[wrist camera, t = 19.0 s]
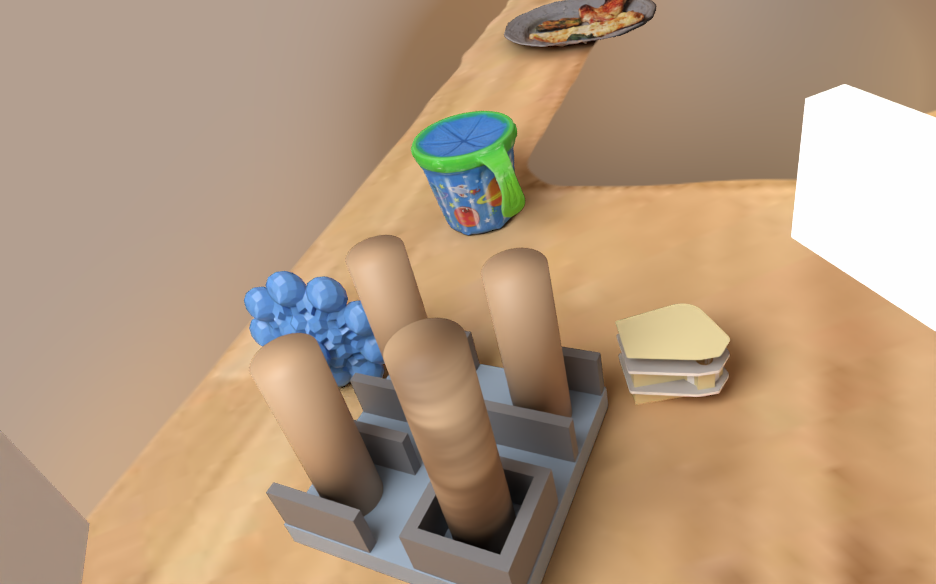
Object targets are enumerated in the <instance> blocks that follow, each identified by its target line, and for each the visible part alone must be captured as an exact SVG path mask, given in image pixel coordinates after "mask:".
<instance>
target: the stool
mask: <svg viewBox="0 0 936 584" xmlns="http://www.w3.org/2000/svg"><path fill="white" fill-rule="evenodd" d="M345 262H346V265H347V267H348V270H349V273H350V275H351V278H352V280H353V283H354V285H355V288H356V291H357V293H358V296H359V298H360V301H361V303H362V306H363V308H364V311H365V314H366V316H367V319H368V321H369V324H370V326H371V329H372V332H373V334H374V337H375V339H376V342H377V344H378V347H379V350H380V352H381V355H382V357H383V353H384V349H385V346H386V344H387V342H388V341H389V339H390V338H391V337H392V336H393V335H394V334H395V333H396V332H397V331H399V330H400V329H402V328H403V327H405V326H407V325H409V324H411V323H413V322H416V321H419V320H423V319H428V318H427V315H426V312H425V308H424V305H423V302H422V299H421V296H420V293H419V290H418V286H417V283H416V280H415V277H414V274H413V271H412V268H411V264H410V261H409V258H408V255H407V252H406V249H405V246H404V243H403V241H402V240H401V239H400V238H398V237H396V236H392V235H379V236H374V237H371V238H368V239H365V240H363V241H361V242H359V243H358V244H356V245H355V246H354V247H352V248H351V249H350V250H349V252H348V253H347V255H346V258H345ZM481 276H482V281H483V285H484V289H485V293H486V297H487V301H488V305H489V309H490V314H491V318H492V322H493V326H494V330H495V334H496V338H497V343H498V347H499V351H500V355H501V359H502V363H503V367H504V368H500V367H494V366H489V365H483V364H479V360H478V356H477V353H476V349H475V345H474V342H473V338H472V334H471V332H468V331H465V333H466V336H467V340H468V344H469V347H470V351H471V354H472V358H473V362H474V365H475V369H476V373H477V376H478V380H479V383H480V387H481V391H482V394H483V398H484V402H485V405H486V409H487V413H488V416H489V420H490V423H491V427H492V431H493V434H494V438H495V442H496V445H497V449H498V452H499V456H500V460H501V463H502V467H503V471H504V474H505V478H506V482H507V485H508V489H509V492H510V496H511V500H512V503H513V507H514V511H515V514H516V519H515V522H514V524H513V526H512V529H511V531H510V533H509V535H508V538H507V540H506V542H505V545H504V547H503V549H502V552H501V554H500V555H499V554H496V553H493V552H490V551H487V550H484V549H480V548H477V547H474V546H471V545H468V544H465V543H462V542H459V541H455V540H453V538H452V535H451V533H450V530H449V527H448V525H447V522H446V520H445V517H444V515H443V512H442V509H441V507H440V504H439V502H438V499H437V497H436V494H435V491H434V489H433V486H432V484H431V481H430V478H429V476H428V473H427V471H426V468H425V466H424V463H423V460H422V458H421V455H420V453H419V450H418V448H417V445H416V442H415V440H414V437H413V435H412V432H411V430H410V427H409V424H408V422H407V419H406V417H405V414H404V411H403V409H402V406H401V404H400V401H399V399H398V396H397V393H396V391H395V388H394V386H393V383H392V381H391V378H390V375H388V377H387V378H386V379H383V378H379V377H374V376H369V375H364V374H360V373H355V374H354V375H353V377H352V378H351V379H350V382H351V384H352V386H353V389H354V391H355V393H356V395H357V398H358V400H359V402H360V404H361V407H362V409H363V412H362V414H361V415H360V417H359V418H358V420H357V421H356V420H353V418H352V416H351V413H350V411H349V409H348V407H347V405H346V403H345V400H344V398H343V396H342V394H341V392H340V390H339V387H338V385H337V383H336V381H335V379H334V377H333V374H332V372H331V370H330V368H329V366H328V364H327V361H326V359H325V357H324V355H323V353H322V351H321V348H320V346H319V344H318V342H317V340H316V339H315V338H314V337H313V336H311V335H309V334H305V333H292V334H287V335H283V336H280V337H278V338H276V339H274V340H272V341H270V342H268V343H267V344H266V345H264V346H263V347H262V348H261V349H260V350H259V351H258V352H257V353H256V354H255V355H254V357H253V358H252V360H251V363H250V367H249V370H250V374H251V376H252V378H253V380H254V381H255V383H256V385H257V387H258V388H259V390H260V392H261V394H262V395H263V397H264V399H265V401H266V402H267V404H268V406H269V408H270V410H271V411H272V413H273V415H274V417H275V418H276V420H277V422H278V424H279V425H280V427H281V429H282V431H283V432H284V434H285V436H286V438H287V440H288V441H289V443H290V445H291V447H292V448H293V450H294V452H295V454H296V455H297V457H298V459H299V461H300V463H301V464H302V466H303V468H304V470H305V471H306V473H307V475H308V477H309V478H310V480H311V482H312V485H311V487H310V488H309V490H308V491H307V493H305V492H302V491H299V490H296V489H293V488H290V487H287V486H284V485H280V484H277V483H273V484H272V485H271V487H270V488H269V489H268V491H267V492H266V493H267V495H268V496H269V498H270V500H271V501H272V503H273V504H274V506H275V507H276V509H277V510H278V512H279V514H280V515H281V517H282V518H283V520H284V521H285V524H284V525H285V527H286V528H287V530H288V532H289V533H290V535H291V536H292V538H293V539H294V541H296V542H298V543H301V544H304V545H307V546H309V547H312V548H315V549H317V550H320V551H323V552H326V553H328V554H331V555H334V556H337V557H339V558H342V559H345V560H348V561H350V562H353V563H356V564H359V565H361V566H364V567H367V568H370V569H372V570H375V571H378V572H381V573H383V574H386V575H389V576H392V577H394V578H397V579H400V580H402V581H405V582H408V583H411V584H541V582H542V579H543V577H544V574H545V571H546V569H547V566H548V563H549V561H550V558H551V556H552V553H553V550H554V548H555V545H556V542H557V540H558V537H559V534H560V532H561V529H562V527H563V524H564V521H565V519H566V516H567V513H568V511H569V508H570V505H571V503H572V500H573V498H574V495H575V492H576V490H577V487H578V484H579V482H580V479H581V476H582V474H583V471H584V469H585V466H586V463H587V461H588V458H589V455H590V453H591V450H592V447H593V445H594V442H595V440H596V437H597V434H598V432H599V429H600V426H601V424H602V421H603V418H604V416H605V413H606V411H607V408H608V399H607V390H606V387H604V380H603V372H602V363H601V355H600V353H598V352H592V351H586V350H580V349H573V348H567V347H562V346H561V340H560V334H559V328H558V321H557V315H556V309H555V303H554V297H553V291H552V285H551V279H550V273H549V267H548V261H547V259H546V257H545V256H544V255H543V254H542V253H541V252H539V251H536V250H534V249H529V248H514V249H509V250H505V251H502V252H500V253H497V254H496V255H494V256H492V257H491V258H490V259H488V260H487V261H486V262H485V264H484V265H483V267H482V270H481ZM383 360H384V358H383Z"/></svg>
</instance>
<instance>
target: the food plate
mask: <svg viewBox="0 0 936 584" xmlns="http://www.w3.org/2000/svg"><path fill="white" fill-rule="evenodd" d="M655 11H656V4H655V3H654V2H653V1H651V0H565V1H564V0H563V1H558V2H554V3H551V4H547V5H544V6H541V7H539V8H535V9H533V10H531V11H529V12H527V13H525V14H522V15H519V16H518V17H516V18H515V19H513V20H512V21H511V22H510V23H508V25H507V26H506V30H505V33H504V37H505V38H507V39H508V40H510V41H512V42H514V43H517V44H523V45H529V46H540V47H543V46H544V47H545V46H546V47H547V46H554V45H557V46H564V45H568V44H577V43H580V42H583V43H584V44H587V41H591V40H599V39H600V40H601V39H604V38H610V37H616V36H621V35H623V34H625V33H628V32H629V31H631V30H634V29H636V28H638V27H640V26H642V25H644V24H646V23H647V21H649V20H651V19H652V18H653V16H654V14H655Z"/></svg>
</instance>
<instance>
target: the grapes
mask: <svg viewBox="0 0 936 584" xmlns="http://www.w3.org/2000/svg"><path fill="white" fill-rule="evenodd" d="M347 300H348V297H347V294H346V290H345V289H344V288H343V287H342V285H341V284H340V283H339V282H337V281H336V280H334V279H332V278H329V277H325V276H324V277H316V278H314V279H312V280H311V281H310V282H308V283H307V286H306V284H305V283H304V282H303V280H302V279H301V278H300V277H298V276H297V275H295V274H294V273H291V272H287V271H281V272H275V273H274V274H272V275H271V276H269V277H268V279H267V283H266V287H256V288H252V289H251V290H250V291H248V292H247V293H246V295H245V299H244V303H245V306H246V309H247V311H248V312H249V313H250V314H251V316H253V317H254V319H253V320H251V324H250V327H249V329H250V332H251V336H252V337H253V338H254V340H255V341H256V342H257V343H258V344H259V345H261V346H264V345H266V344H267V343H268V342H270V341H272V340H274V339H276V338H278V337H280V336H283V335H287V334H292V333H305V334H309V335H311V336H313V337H314V338H315V339H316V340H317V342H318V344H319V346H320V348H321V351H322V353H323V355H324V357H325V359H326V361H327V364H328V366H329V368H330V370H331V372H332V374H333V377H334V379H335V381H336V383H337V385H338V387H342V386H345V385H347V384H348V383H349V382H350V379H351V378H352V377H353V375H354V374H355V373H360V374H364V375H369V376H374V377H379V378H382V377H383V374H384V367H383V364H385V362H384V360H383V357H382V355H381V352H380V350H379V347H378V344H377V342H376V339H375V337H374V334H373V332H372V329H371V326H370V324H369V321H368V319H367V316H366V314H365V311H364V308H363V306H362V303H361V301H353V302H350V303H348V304H347ZM346 304H347V305H346Z"/></svg>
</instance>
